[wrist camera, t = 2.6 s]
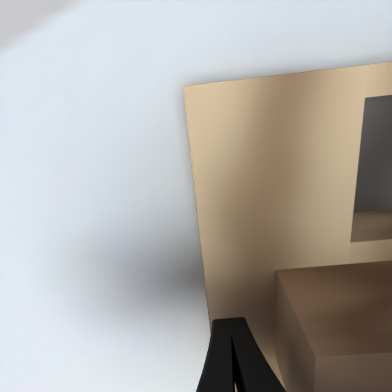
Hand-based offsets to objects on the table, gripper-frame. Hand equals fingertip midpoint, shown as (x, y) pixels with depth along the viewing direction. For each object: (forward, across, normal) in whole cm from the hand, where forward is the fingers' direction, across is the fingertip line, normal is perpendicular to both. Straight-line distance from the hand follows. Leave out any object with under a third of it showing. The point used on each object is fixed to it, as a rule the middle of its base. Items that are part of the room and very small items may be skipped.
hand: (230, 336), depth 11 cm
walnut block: (+1, -5, 0) cm, 5 cm away
